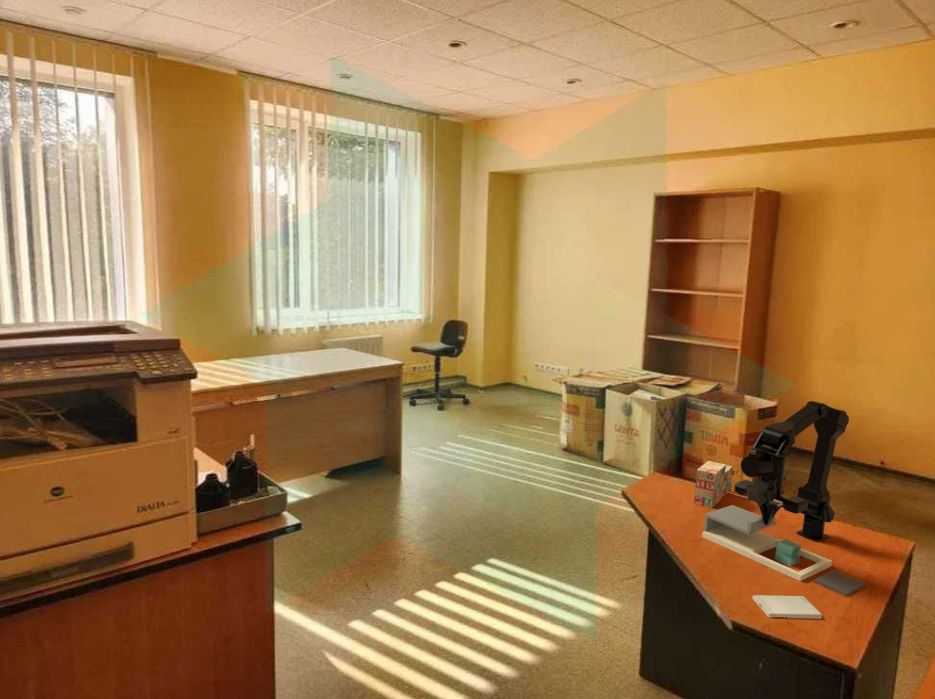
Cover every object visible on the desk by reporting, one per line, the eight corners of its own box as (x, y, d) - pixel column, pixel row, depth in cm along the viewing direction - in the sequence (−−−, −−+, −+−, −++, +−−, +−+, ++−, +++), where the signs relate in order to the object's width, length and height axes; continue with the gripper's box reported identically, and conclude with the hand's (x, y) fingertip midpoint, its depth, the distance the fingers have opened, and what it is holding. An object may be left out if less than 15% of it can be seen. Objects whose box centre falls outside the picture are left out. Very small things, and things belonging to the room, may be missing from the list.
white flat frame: (733, 525, 196) (734, 520, 196) (831, 566, 172) (832, 560, 172) (701, 536, 187) (702, 531, 187) (800, 581, 163) (800, 575, 163)
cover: (730, 520, 196) (733, 497, 194) (773, 538, 184) (776, 513, 183) (703, 529, 188) (706, 506, 187) (746, 548, 177) (749, 523, 175)
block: (783, 555, 177) (785, 539, 176) (799, 562, 174) (801, 545, 173) (774, 559, 175) (776, 542, 174) (790, 566, 171) (792, 549, 170)
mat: (833, 572, 169) (833, 569, 169) (865, 585, 162) (865, 583, 162) (813, 581, 163) (814, 579, 163) (846, 596, 157) (846, 593, 157)
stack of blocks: (712, 486, 230) (715, 454, 228) (730, 491, 226) (734, 458, 224) (693, 503, 213) (696, 468, 211) (712, 508, 209) (716, 473, 207)
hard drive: (802, 595, 154) (752, 594, 154) (822, 614, 146) (769, 613, 146) (802, 601, 154) (751, 600, 154) (821, 621, 146) (768, 619, 146)
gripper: (725, 466, 179) (720, 518, 182) (789, 487, 164) (782, 544, 166) (748, 460, 186) (742, 510, 188) (811, 480, 170) (805, 535, 173)
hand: (766, 524), depth 179 cm, fingers closed
